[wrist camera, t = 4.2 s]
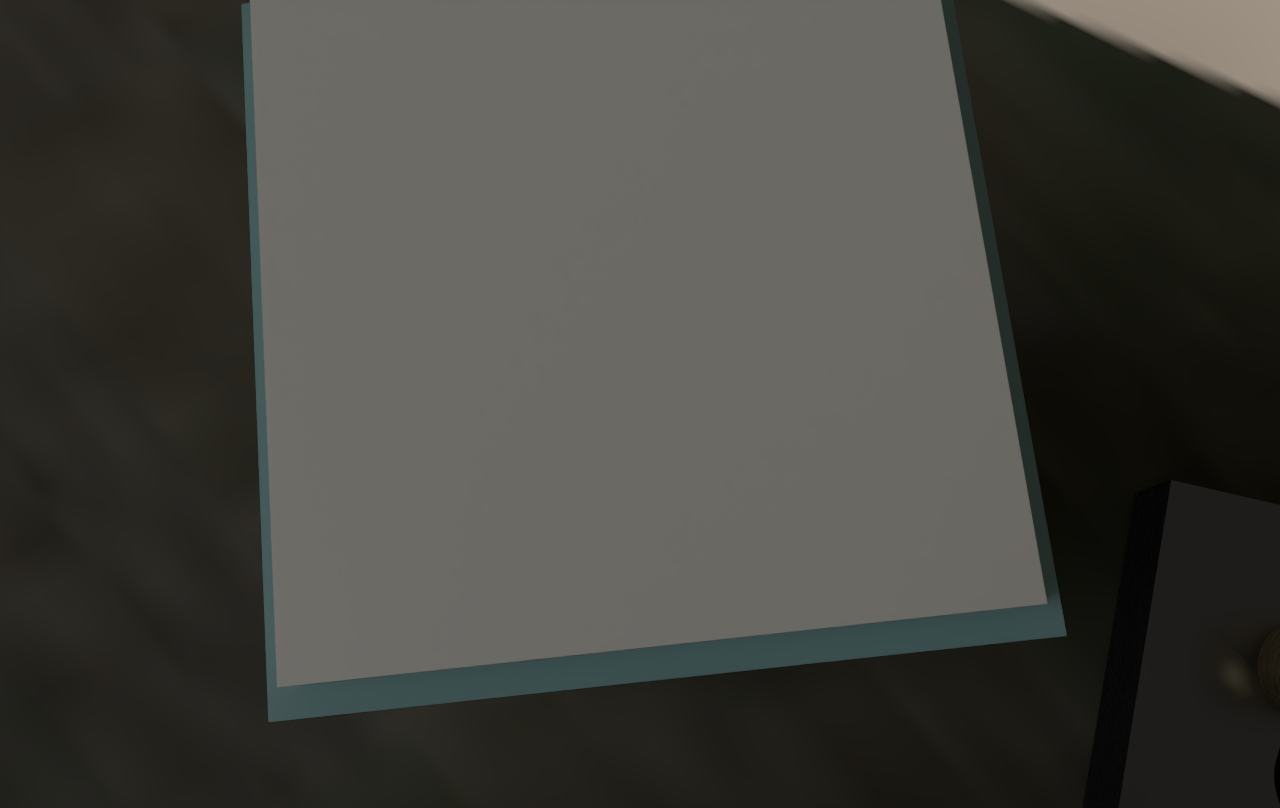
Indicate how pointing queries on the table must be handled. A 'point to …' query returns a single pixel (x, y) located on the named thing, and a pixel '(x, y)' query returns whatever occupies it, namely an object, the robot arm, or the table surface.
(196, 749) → the table surface
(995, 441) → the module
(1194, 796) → the chassis
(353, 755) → the table surface
